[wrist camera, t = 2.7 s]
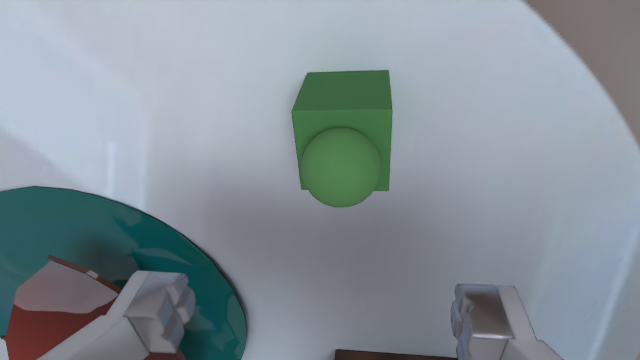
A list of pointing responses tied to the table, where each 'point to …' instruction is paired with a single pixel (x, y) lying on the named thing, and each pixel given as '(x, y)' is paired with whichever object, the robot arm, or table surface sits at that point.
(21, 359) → the boat on round base
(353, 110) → the green toy
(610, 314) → the table surface
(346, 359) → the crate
